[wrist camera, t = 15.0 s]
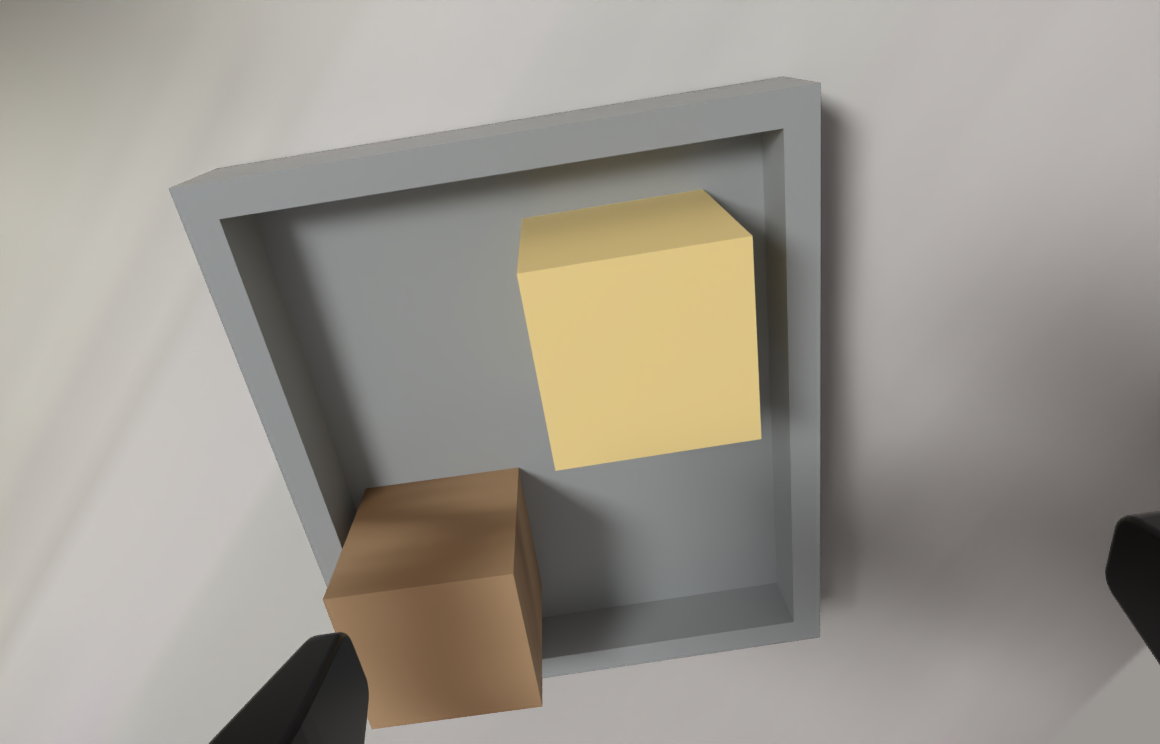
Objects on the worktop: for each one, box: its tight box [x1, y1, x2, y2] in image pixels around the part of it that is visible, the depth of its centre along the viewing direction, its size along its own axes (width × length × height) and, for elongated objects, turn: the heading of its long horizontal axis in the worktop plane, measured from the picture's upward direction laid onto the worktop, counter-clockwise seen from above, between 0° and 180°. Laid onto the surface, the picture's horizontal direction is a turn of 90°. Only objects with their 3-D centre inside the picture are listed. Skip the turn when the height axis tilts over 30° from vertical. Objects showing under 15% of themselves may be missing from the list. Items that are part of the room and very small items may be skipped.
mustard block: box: [517, 189, 761, 471], centre depth 16 cm, size 4×4×4 cm
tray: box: [169, 77, 821, 678], centre depth 19 cm, size 14×16×2 cm
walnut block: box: [323, 468, 542, 729], centre depth 19 cm, size 4×4×4 cm
